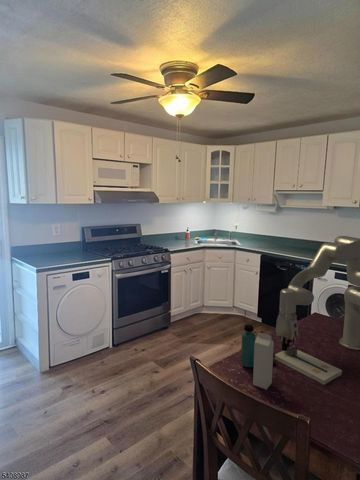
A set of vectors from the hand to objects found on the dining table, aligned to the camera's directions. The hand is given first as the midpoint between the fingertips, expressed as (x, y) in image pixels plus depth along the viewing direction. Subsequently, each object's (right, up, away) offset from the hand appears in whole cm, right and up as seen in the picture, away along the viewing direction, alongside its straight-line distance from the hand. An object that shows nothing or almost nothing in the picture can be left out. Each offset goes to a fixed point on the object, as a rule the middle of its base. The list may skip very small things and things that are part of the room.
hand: (285, 349), depth 155 cm
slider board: (+7, -4, -9) cm, 12 cm away
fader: (+2, -1, -3) cm, 4 cm away
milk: (-18, -6, -23) cm, 30 cm away
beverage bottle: (-21, -5, -10) cm, 23 cm away
